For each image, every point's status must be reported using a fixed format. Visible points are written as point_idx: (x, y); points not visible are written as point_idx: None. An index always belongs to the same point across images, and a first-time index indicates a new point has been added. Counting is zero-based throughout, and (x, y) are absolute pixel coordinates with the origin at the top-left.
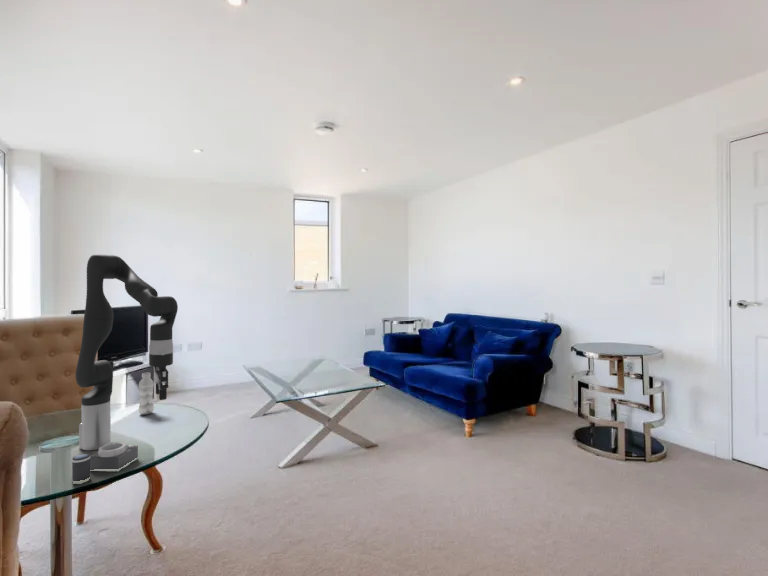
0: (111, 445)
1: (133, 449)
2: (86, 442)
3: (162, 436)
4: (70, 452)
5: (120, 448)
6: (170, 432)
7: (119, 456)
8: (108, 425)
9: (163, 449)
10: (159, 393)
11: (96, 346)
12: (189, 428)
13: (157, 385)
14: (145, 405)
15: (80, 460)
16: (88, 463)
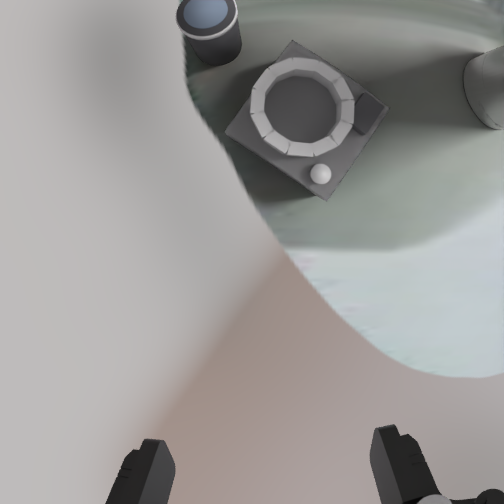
0: (340, 103)
1: (302, 184)
2: (481, 57)
3: (471, 276)
4: (469, 31)
5: (262, 136)
6: (484, 298)
7: (235, 136)
8: None
9: (361, 277)
10: (130, 479)
11: None
12: (476, 347)
13: (395, 498)
14: None
15: (176, 16)
16: (195, 42)
